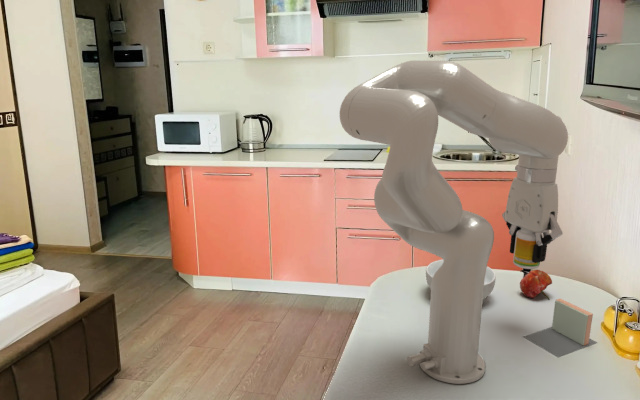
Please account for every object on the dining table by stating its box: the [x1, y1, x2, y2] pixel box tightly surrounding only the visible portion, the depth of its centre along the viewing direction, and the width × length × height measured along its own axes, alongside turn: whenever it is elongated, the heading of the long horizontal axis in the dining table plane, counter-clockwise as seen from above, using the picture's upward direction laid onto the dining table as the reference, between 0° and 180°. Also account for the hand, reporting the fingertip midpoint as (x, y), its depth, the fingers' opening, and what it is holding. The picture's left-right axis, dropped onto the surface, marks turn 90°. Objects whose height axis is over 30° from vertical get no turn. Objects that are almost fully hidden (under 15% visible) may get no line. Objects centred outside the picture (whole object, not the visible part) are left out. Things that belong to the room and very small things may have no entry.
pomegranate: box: [519, 269, 553, 300], centre depth 132 cm, size 7×7×10 cm
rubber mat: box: [522, 326, 598, 358], centre depth 113 cm, size 12×9×1 cm
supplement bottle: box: [512, 228, 543, 270], centre depth 113 cm, size 5×5×10 cm
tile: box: [551, 298, 594, 346], centre depth 113 cm, size 2×8×7 cm, turn 27°
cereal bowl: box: [425, 258, 496, 300], centre depth 133 cm, size 17×17×7 cm
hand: (526, 256), depth 114 cm, fingers closed on supplement bottle, 5 cm apart
